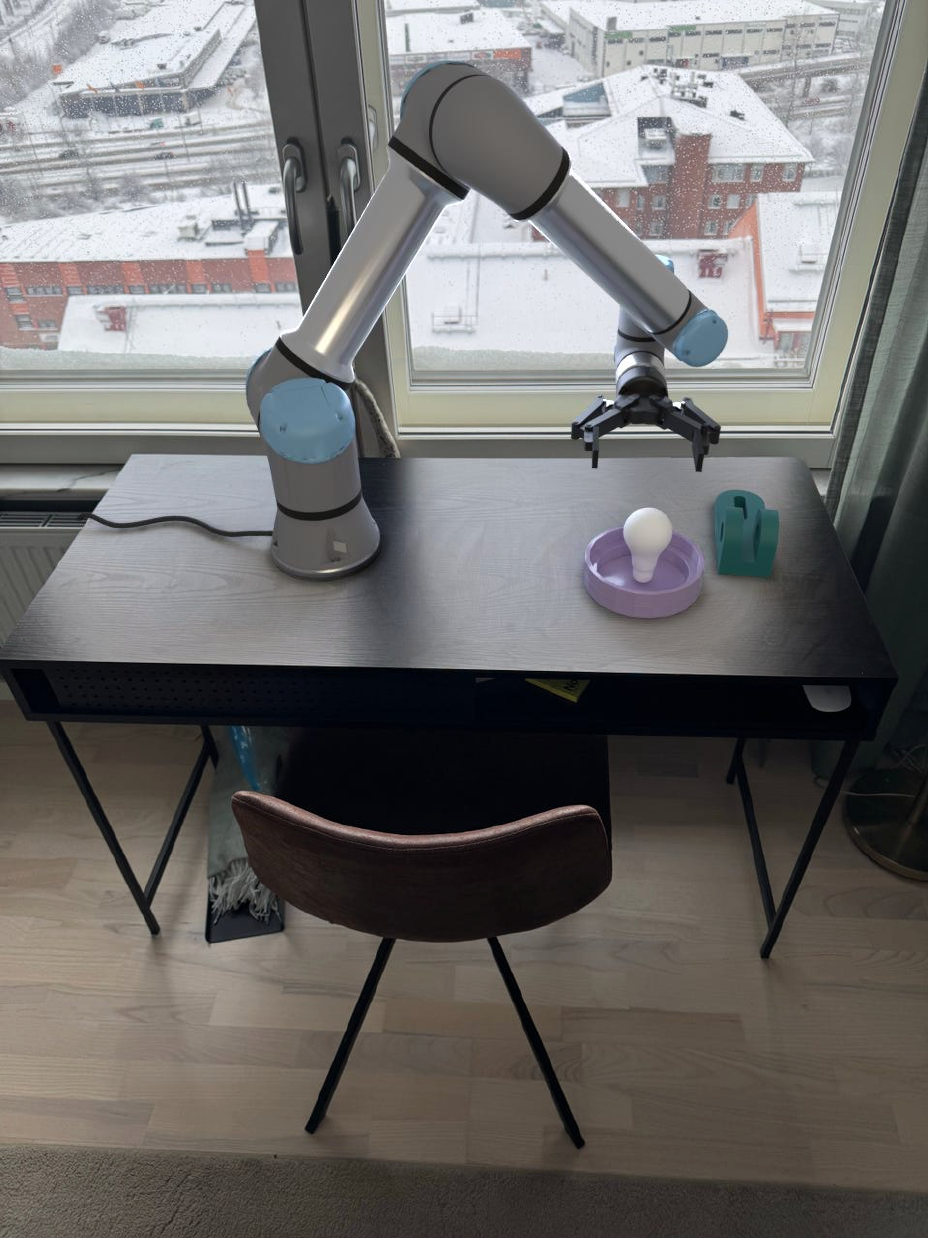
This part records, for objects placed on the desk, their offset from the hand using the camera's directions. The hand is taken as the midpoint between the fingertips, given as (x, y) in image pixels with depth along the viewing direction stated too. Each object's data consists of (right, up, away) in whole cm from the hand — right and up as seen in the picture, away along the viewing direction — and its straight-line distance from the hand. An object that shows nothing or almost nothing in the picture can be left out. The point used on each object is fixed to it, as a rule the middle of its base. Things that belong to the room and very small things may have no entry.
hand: (647, 461), depth 123 cm
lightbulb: (-1, -16, +1) cm, 16 cm away
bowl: (-1, -16, +1) cm, 16 cm away
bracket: (+15, -9, +9) cm, 20 cm away
